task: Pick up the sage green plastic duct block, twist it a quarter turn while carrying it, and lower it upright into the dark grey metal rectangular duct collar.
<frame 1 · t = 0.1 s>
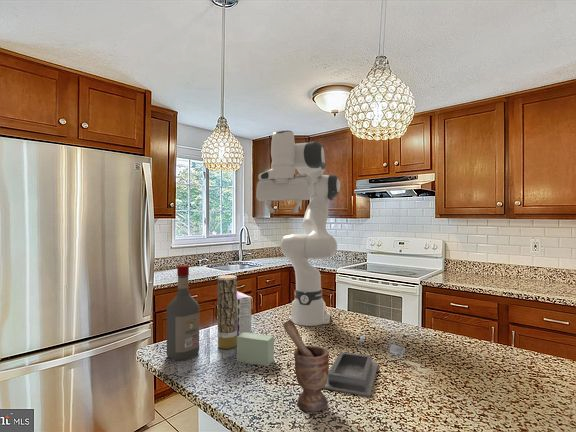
hand: (283, 213, 123), 48 cm above the worktop, tool pointing down, fingers open, 8 cm apart
duct block: (255, 361, 110), on the worktop
candy box: (237, 336, 133), on the worktop
duct collar: (351, 375, 99), on the worktop
mortar and pestle: (305, 404, 84), on the worktop
liquor: (183, 355, 115), on the worktop
paper tube: (227, 346, 122), on the worktop
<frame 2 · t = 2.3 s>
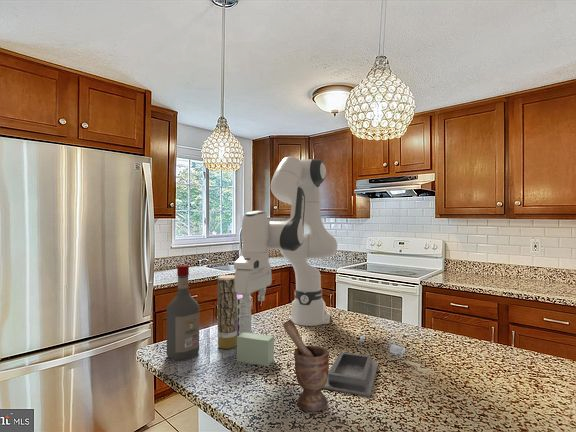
hand: (255, 303, 110), 18 cm above the worktop, tool pointing down, fingers open, 8 cm apart
nothing on the worktop moved.
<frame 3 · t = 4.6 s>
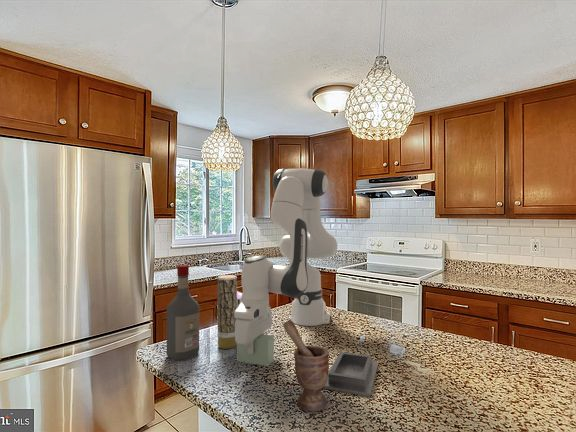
hand: (255, 349, 110), 4 cm above the worktop, tool pointing down, fingers closed on duct block, 4 cm apart
duct block: (255, 360, 110), on the worktop, touching gripper
everything else where it was.
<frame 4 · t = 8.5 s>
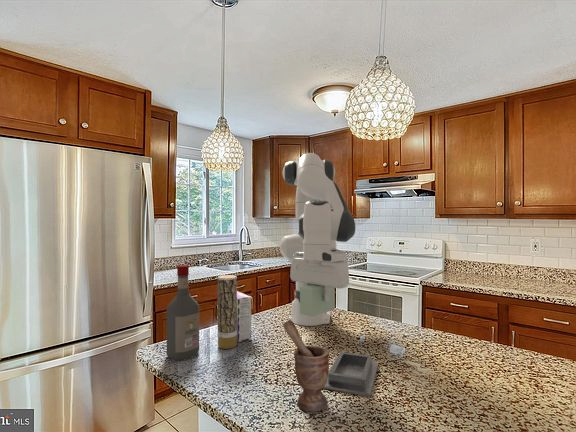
hand: (317, 299, 102), 22 cm above the worktop, tool pointing down, fingers closed on duct block, 4 cm apart
duct block: (317, 311, 102), point 18 cm above the worktop, touching gripper
everything else where it was.
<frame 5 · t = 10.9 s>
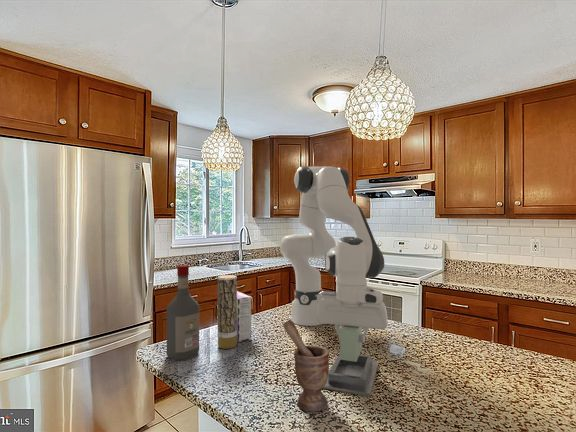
hand: (351, 340, 99), 10 cm above the worktop, tool pointing down, fingers closed on duct block, 4 cm apart
duct block: (351, 353, 99), point 7 cm above the worktop, touching gripper
everything else where it was.
when the fingers open (5 cm above the worktop, at t = 12.6 s): duct block stays where it is, resting on duct collar.
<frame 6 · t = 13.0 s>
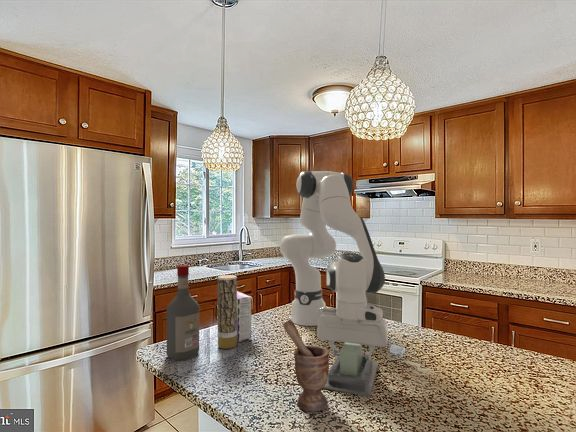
hand: (351, 357, 99), 5 cm above the worktop, tool pointing down, fingers open, 8 cm apart
duct block: (351, 373, 99), point 1 cm above the worktop, touching duct collar
everything else where it was.
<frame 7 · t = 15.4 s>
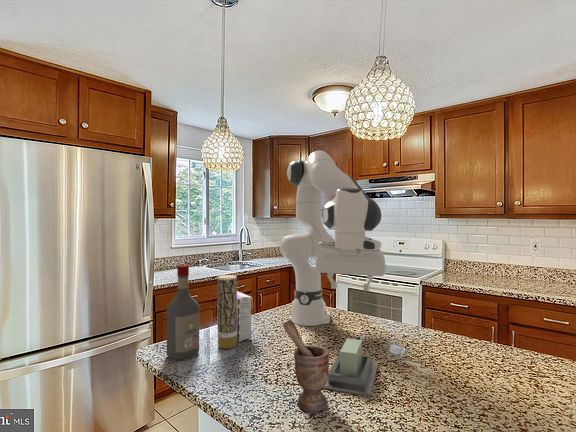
hand: (350, 289, 100), 25 cm above the worktop, tool pointing down, fingers open, 8 cm apart
nothing on the worktop moved.
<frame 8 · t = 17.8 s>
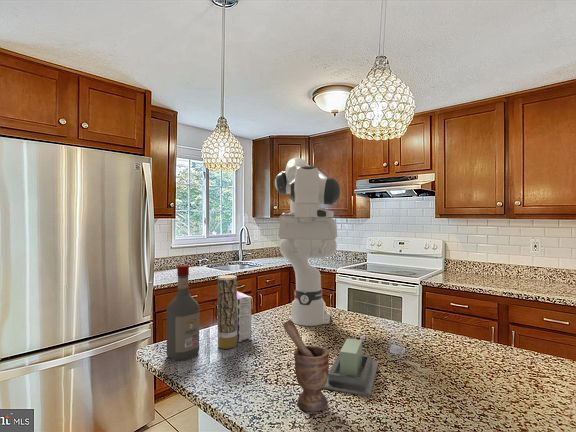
hand: (307, 252, 116), 34 cm above the worktop, tool pointing down, fingers open, 8 cm apart
nothing on the worktop moved.
at the end: duct block 0.0 cm off-centre on the duct collar, point 0.8 cm above the duct collar's base; duct block tilted 0°; the gripper is holding nothing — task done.
